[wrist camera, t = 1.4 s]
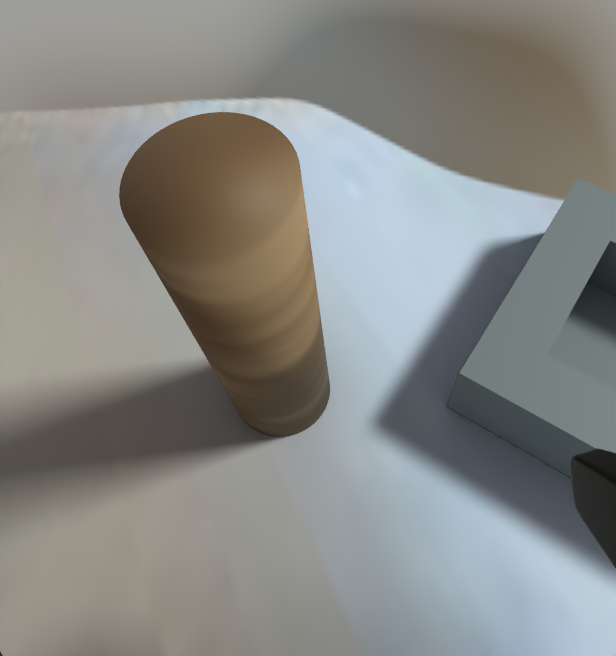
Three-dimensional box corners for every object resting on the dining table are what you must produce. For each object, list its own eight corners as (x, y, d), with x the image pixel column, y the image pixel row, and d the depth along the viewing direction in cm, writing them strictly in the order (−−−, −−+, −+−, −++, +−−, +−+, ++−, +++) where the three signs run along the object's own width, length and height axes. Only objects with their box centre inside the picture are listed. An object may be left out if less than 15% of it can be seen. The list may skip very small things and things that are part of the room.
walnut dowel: (348, 375, 24) (336, 153, 13) (293, 455, 23) (224, 288, 12) (271, 330, 26) (196, 90, 14) (214, 403, 24) (82, 205, 13)
